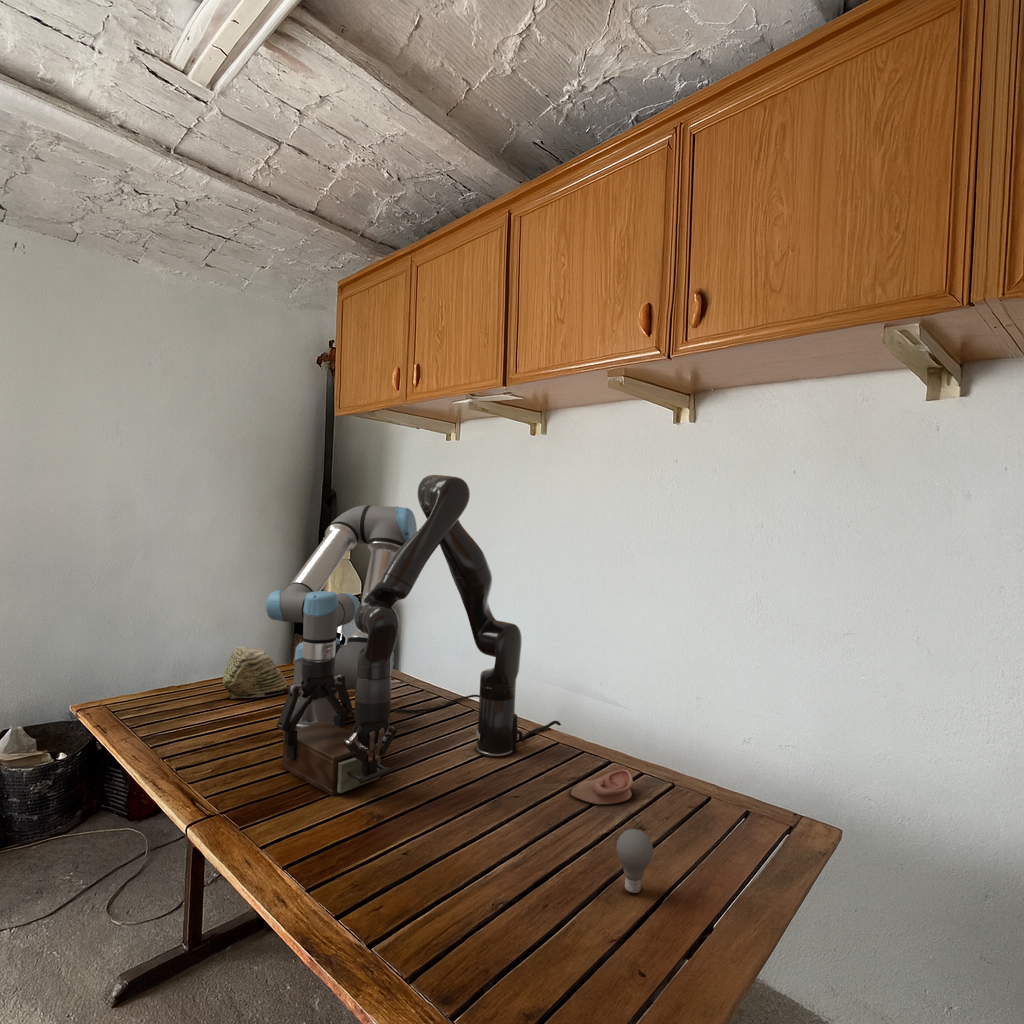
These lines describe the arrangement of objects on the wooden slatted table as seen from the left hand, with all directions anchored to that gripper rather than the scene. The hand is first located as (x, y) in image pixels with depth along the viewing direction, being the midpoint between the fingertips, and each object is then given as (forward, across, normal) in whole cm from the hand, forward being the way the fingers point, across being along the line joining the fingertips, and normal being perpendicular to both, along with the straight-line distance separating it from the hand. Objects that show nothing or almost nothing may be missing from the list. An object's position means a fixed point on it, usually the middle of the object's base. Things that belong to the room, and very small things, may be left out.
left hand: (315, 750), depth 149 cm
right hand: (0, 0, -20) cm, 21 cm away
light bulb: (+3, +9, -79) cm, 79 cm away
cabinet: (+4, 0, -6) cm, 7 cm away
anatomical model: (+4, +36, -56) cm, 67 cm away
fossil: (+4, +16, +58) cm, 60 cm away
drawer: (+3, 0, -11) cm, 11 cm away
